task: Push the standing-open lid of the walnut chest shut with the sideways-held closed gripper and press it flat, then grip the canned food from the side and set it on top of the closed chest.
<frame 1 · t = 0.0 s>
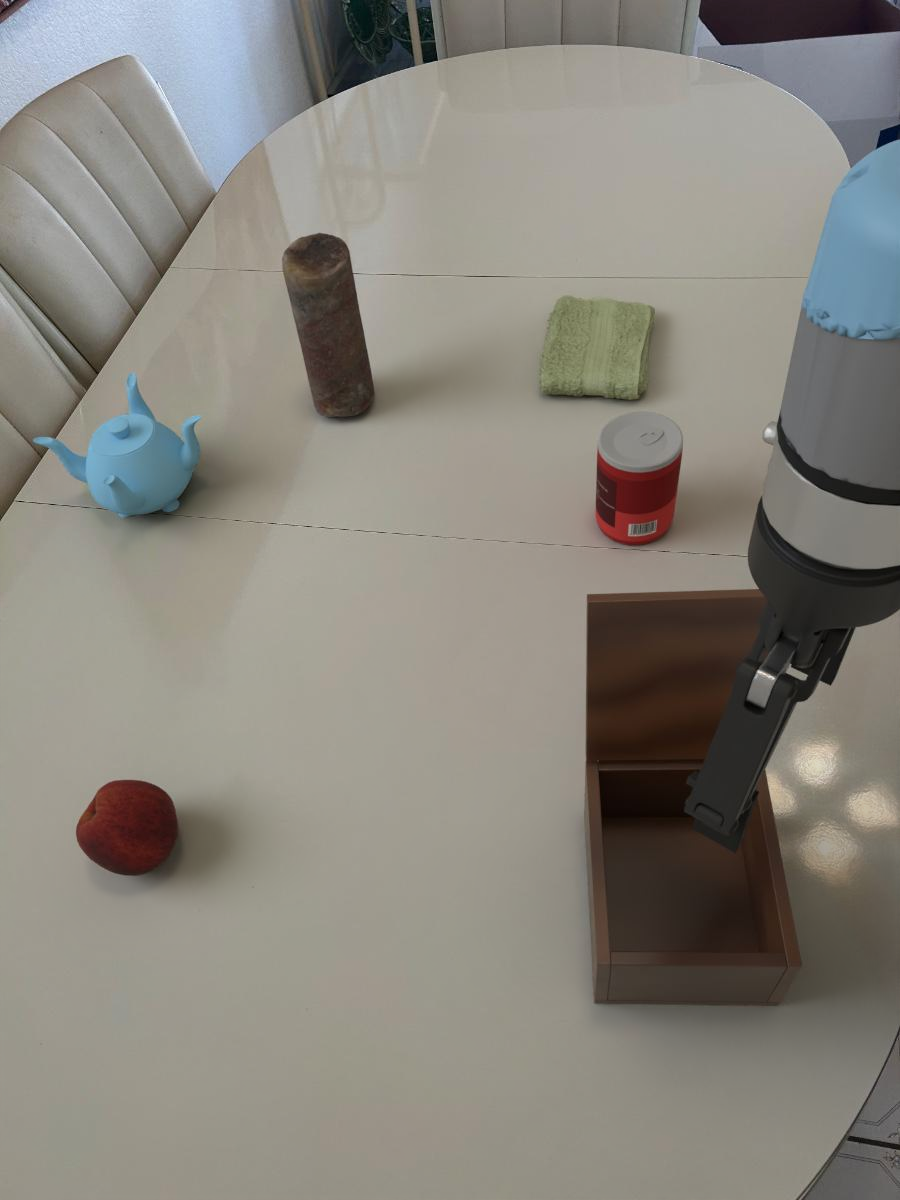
hand: (767, 750, 58), 18 cm above the table, tool pointing down, fingers open, 13 cm apart
chest: (673, 902, 71), on the table
canned food: (633, 520, 95), on the table
washcloth: (595, 357, 112), on the table
apple: (149, 846, 78), on the table
lid: (682, 681, 63), point 17 cm above the table, hinge at 100.0°
candle: (347, 405, 111), on the table
teapot: (150, 493, 105), on the table
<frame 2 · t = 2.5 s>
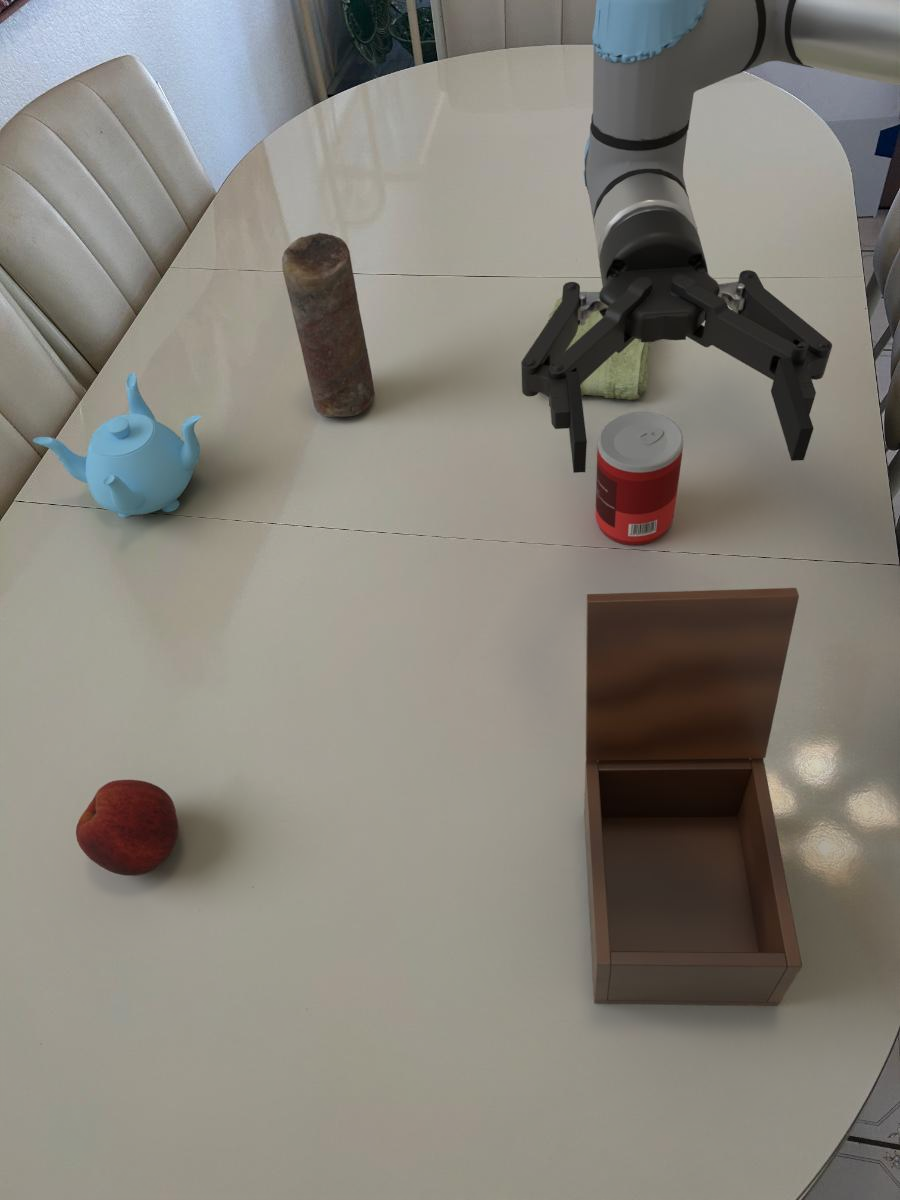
hand: (690, 451, 58), 30 cm above the table, tool horizontal, fingers open, 13 cm apart
nothing on the table moved.
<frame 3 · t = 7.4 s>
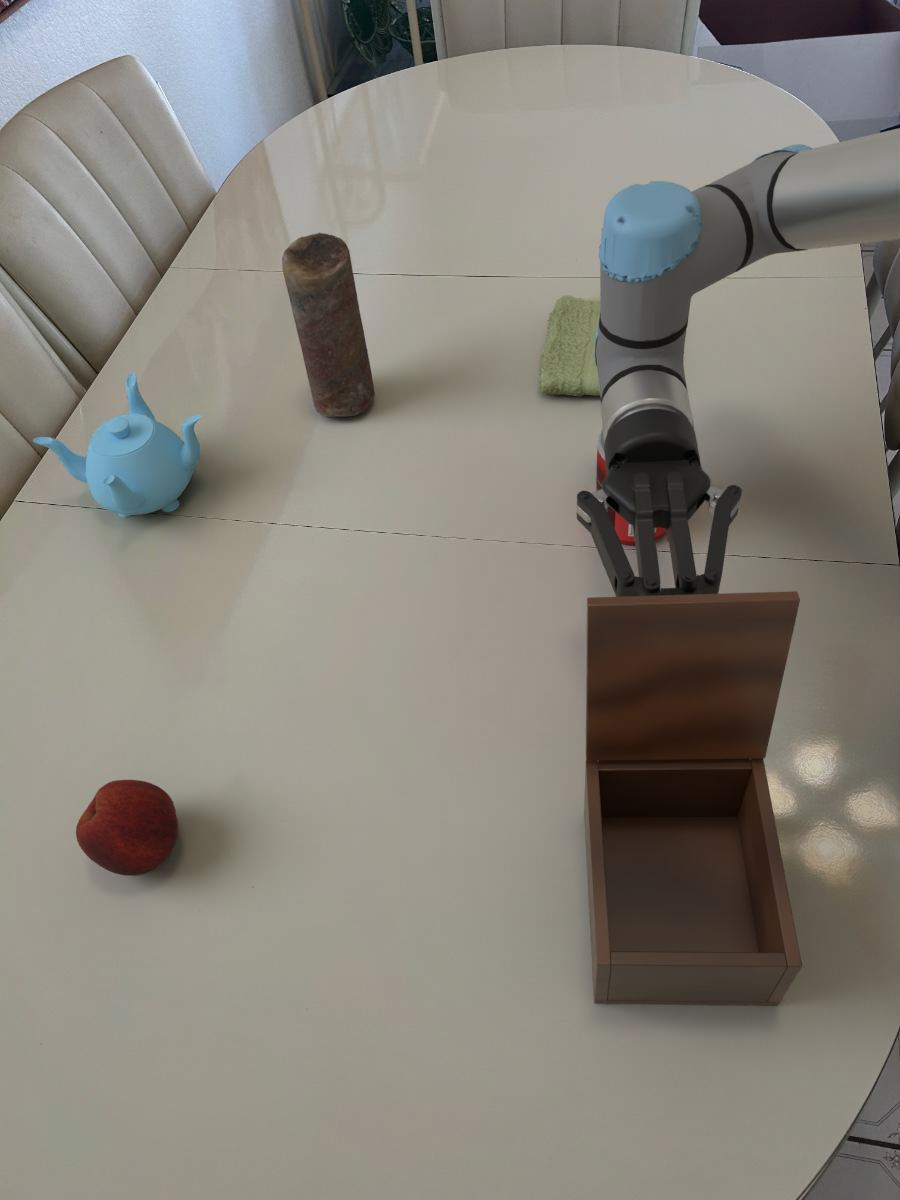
hand: (679, 674, 64), 17 cm above the table, tool horizontal, fingers closed
lid: (682, 683, 63), point 17 cm above the table, hinge at 98.7°, touching gripper
everything else where it was.
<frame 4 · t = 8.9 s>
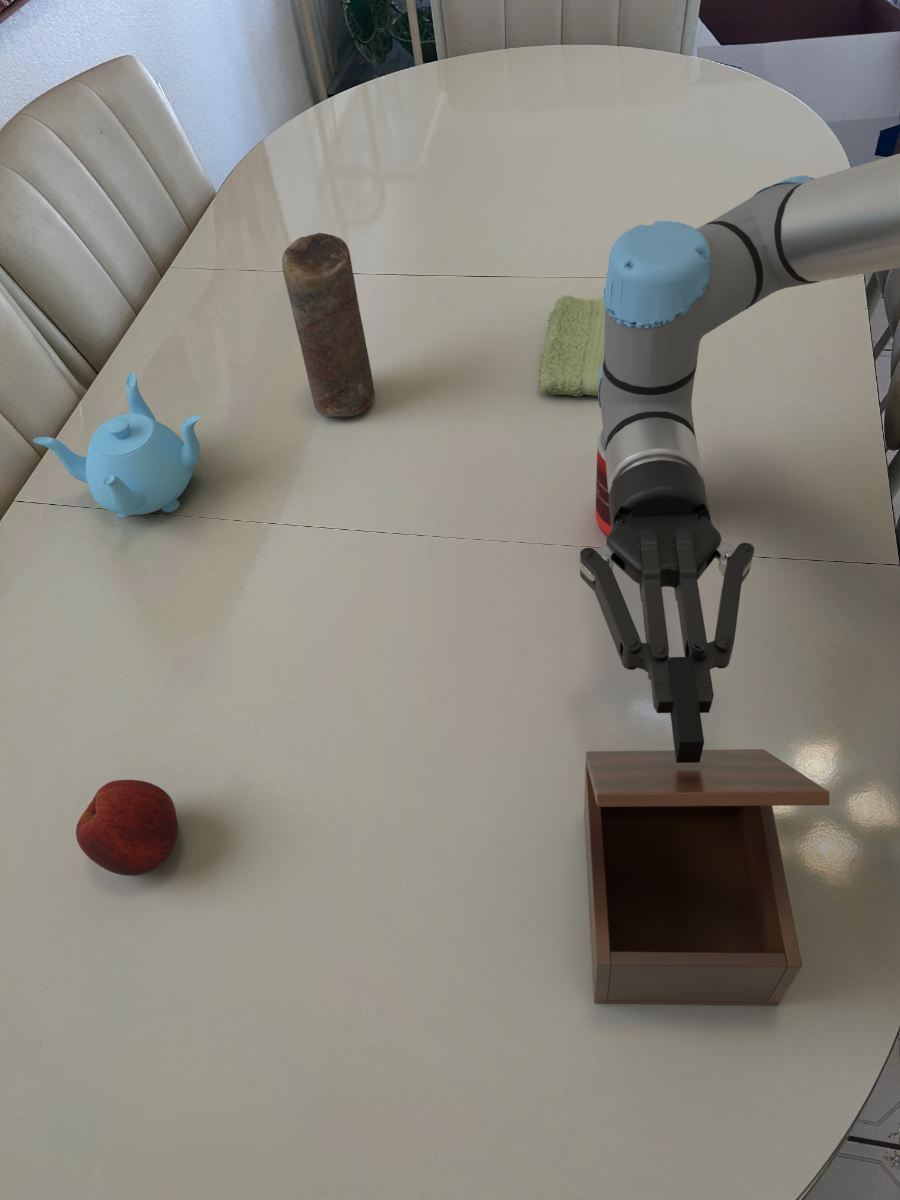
hand: (689, 752, 60), 17 cm above the table, tool horizontal, fingers closed
lid: (690, 774, 60), point 16 cm above the table, hinge at 52.3°, touching gripper
everything else where it was.
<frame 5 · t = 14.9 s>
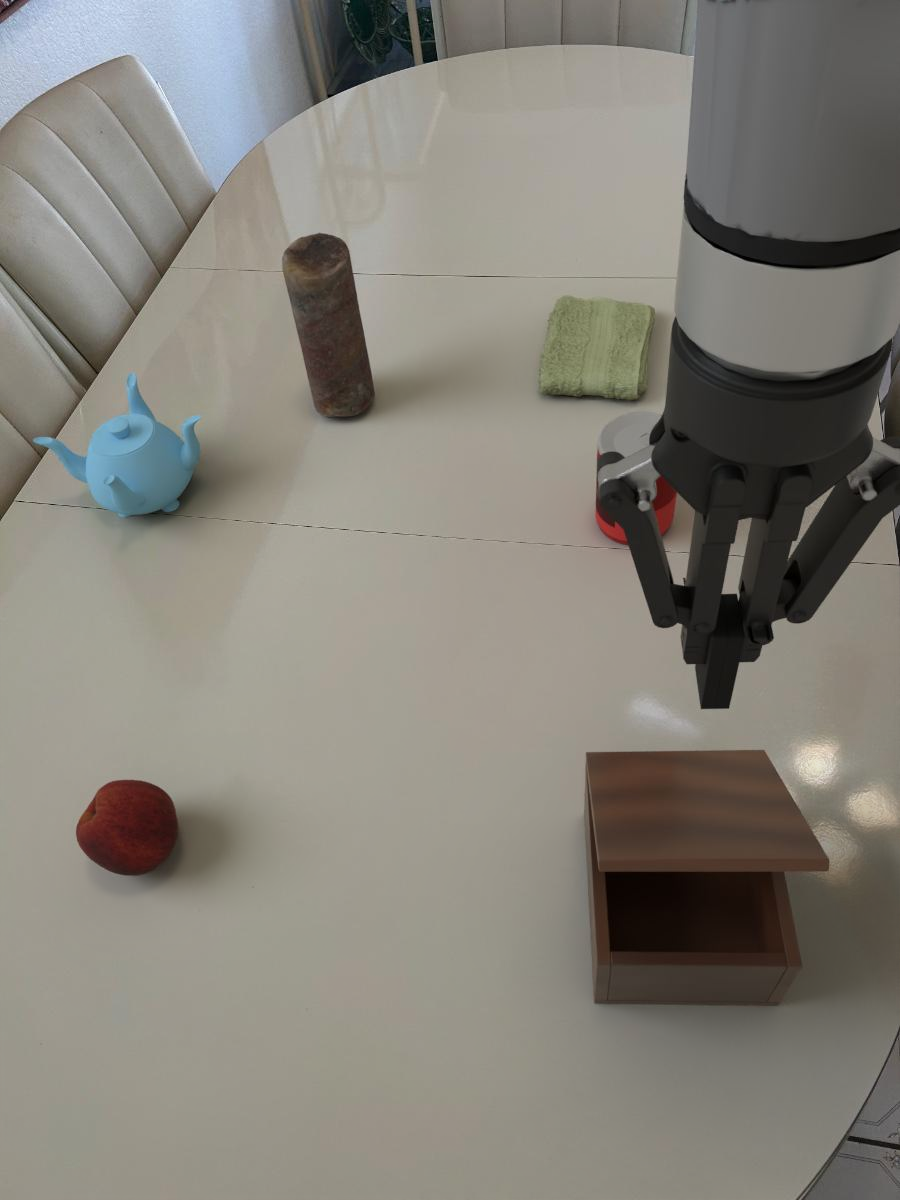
hand: (711, 687, 51), 27 cm above the table, tool pointing down, fingers closed
lid: (691, 803, 61), point 14 cm above the table, hinge at 38.1°
everything else where it was.
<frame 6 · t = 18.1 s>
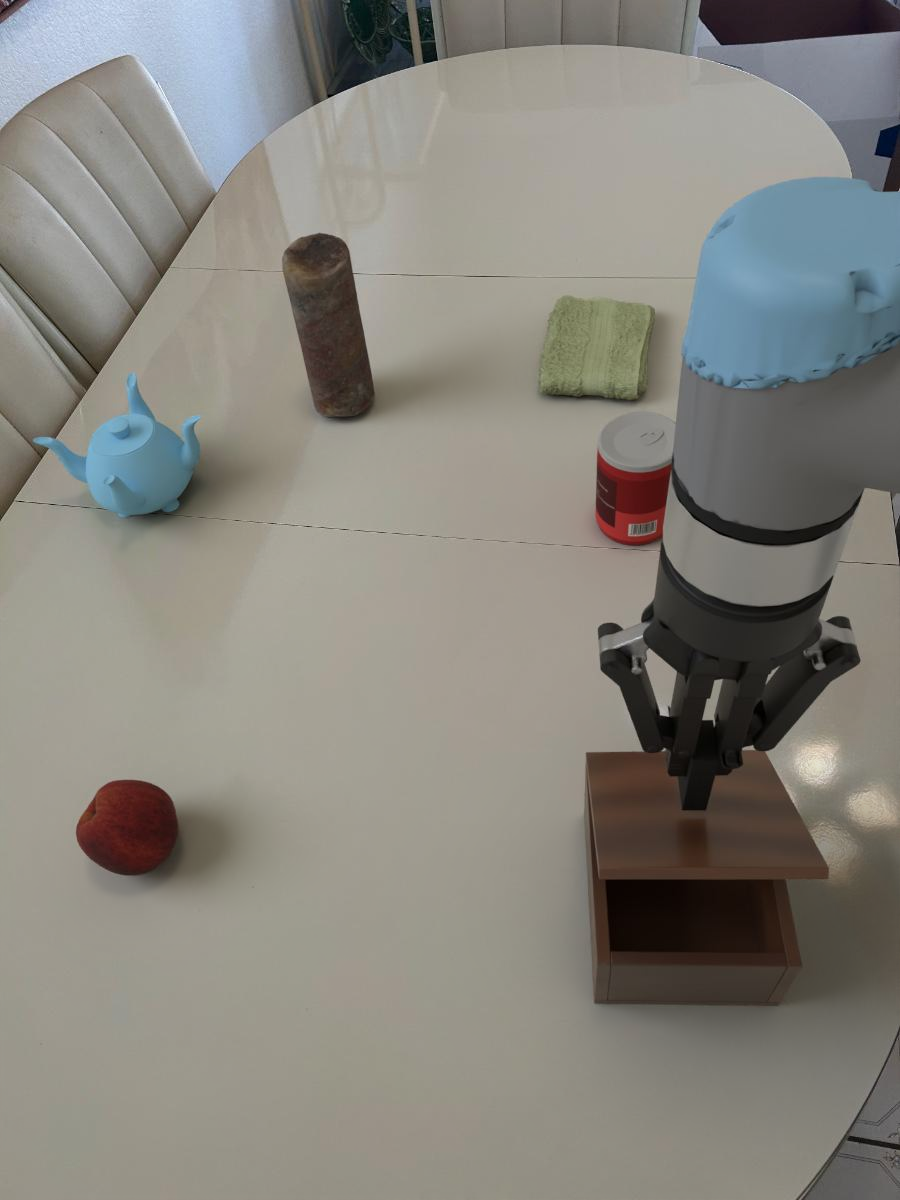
hand: (691, 790, 60), 16 cm above the table, tool pointing down, fingers closed
lid: (691, 807, 61), point 14 cm above the table, hinge at 36.3°
everything else where it was.
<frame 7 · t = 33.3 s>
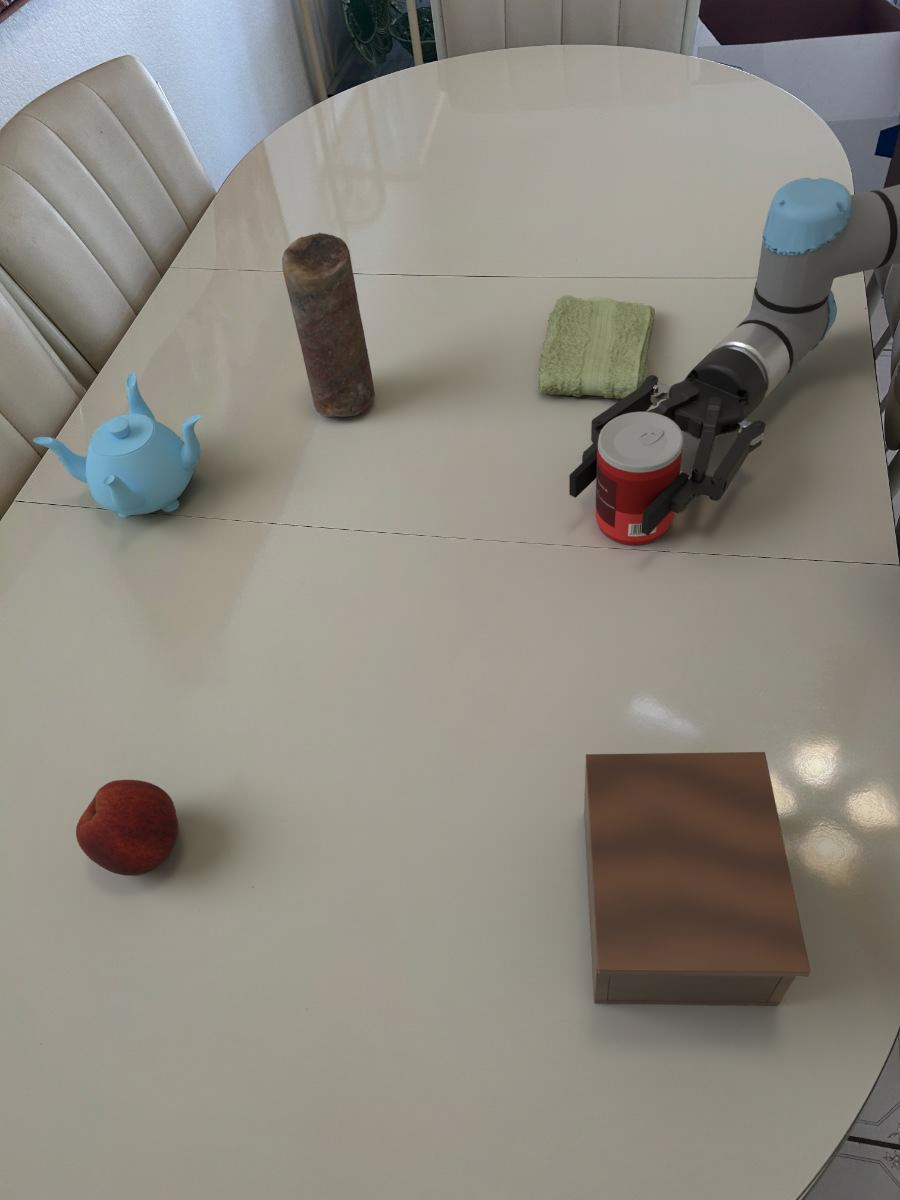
hand: (608, 504, 88), 6 cm above the table, tool horizontal, fingers closed on canned food, 8 cm apart
canned food: (633, 520, 95), on the table, touching gripper
lid: (687, 855, 63), point 10 cm above the table, hinge at 3.3°
everything else where it was.
when the fingers open (16 cm above the table, at t = 44.2 s): canned food stays where it is, resting on lid.
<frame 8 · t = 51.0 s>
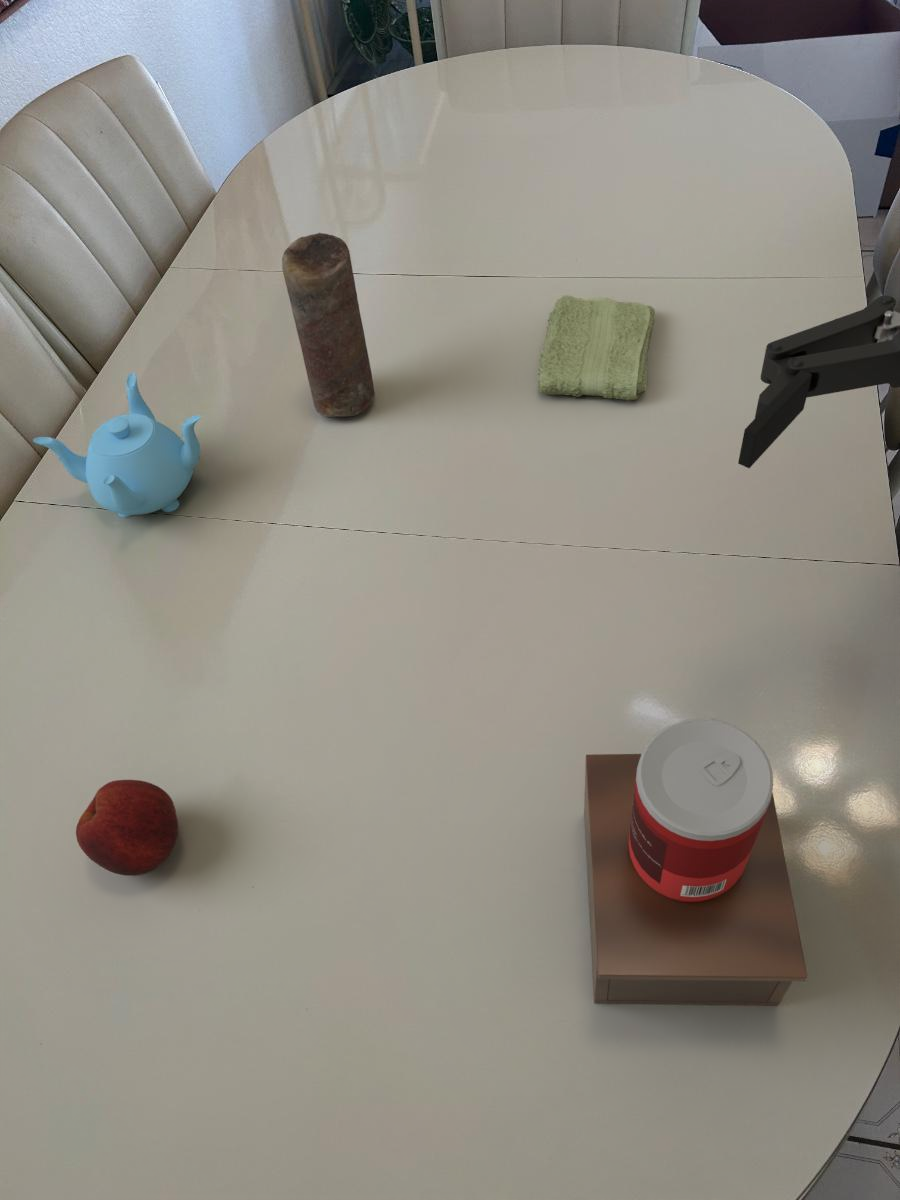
hand: (856, 498, 52), 32 cm above the table, tool horizontal, fingers open, 13 cm apart
canned food: (686, 851, 63), point 10 cm above the table, touching lid
lid: (686, 858, 63), point 9 cm above the table, hinge at -0.2°, touching canned food, chest
everything else where it was.
at the end: lid at +0° (first picture: +100°); canned food inside the target area on the chest (0.0 cm from its centre), point 9.5 cm above the chest's base; canned food tilted 0° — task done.
